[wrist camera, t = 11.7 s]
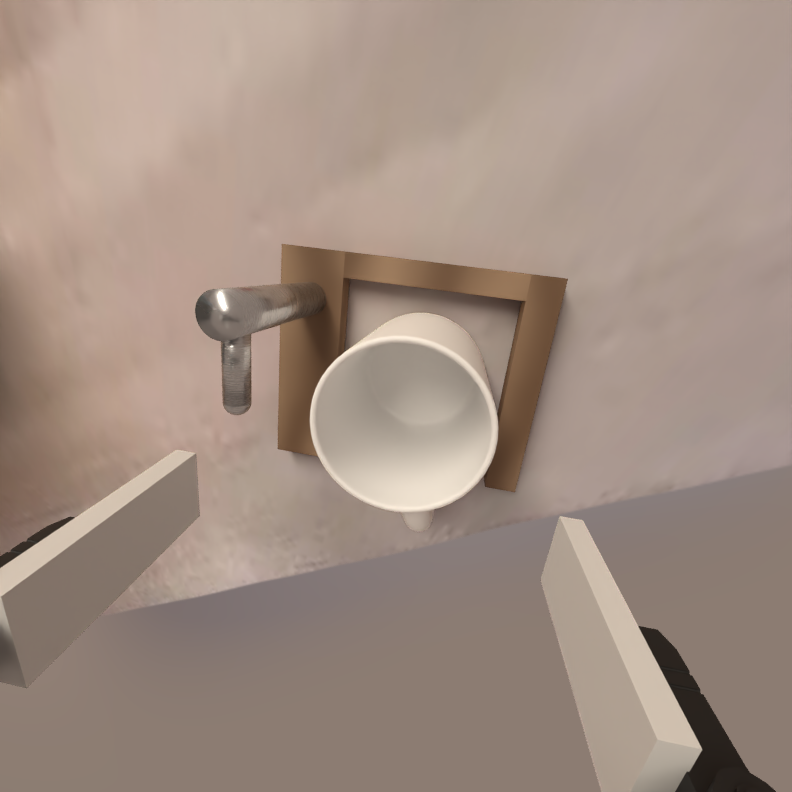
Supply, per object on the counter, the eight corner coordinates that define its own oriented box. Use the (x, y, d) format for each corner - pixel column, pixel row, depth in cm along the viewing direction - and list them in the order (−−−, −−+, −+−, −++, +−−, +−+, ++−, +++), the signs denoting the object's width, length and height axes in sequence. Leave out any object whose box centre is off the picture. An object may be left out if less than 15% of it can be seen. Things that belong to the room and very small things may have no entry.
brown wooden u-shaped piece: (286, 440, 30) (277, 449, 28) (291, 245, 25) (281, 243, 24) (511, 480, 28) (514, 492, 27) (561, 278, 23) (567, 278, 22)
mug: (485, 475, 28) (499, 583, 18) (373, 475, 30) (332, 575, 20) (482, 306, 25) (498, 329, 15) (356, 314, 26) (295, 341, 16)
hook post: (293, 366, 26) (200, 419, 17) (296, 279, 24) (194, 285, 15) (322, 370, 26) (244, 427, 17) (327, 283, 24) (242, 292, 15)
